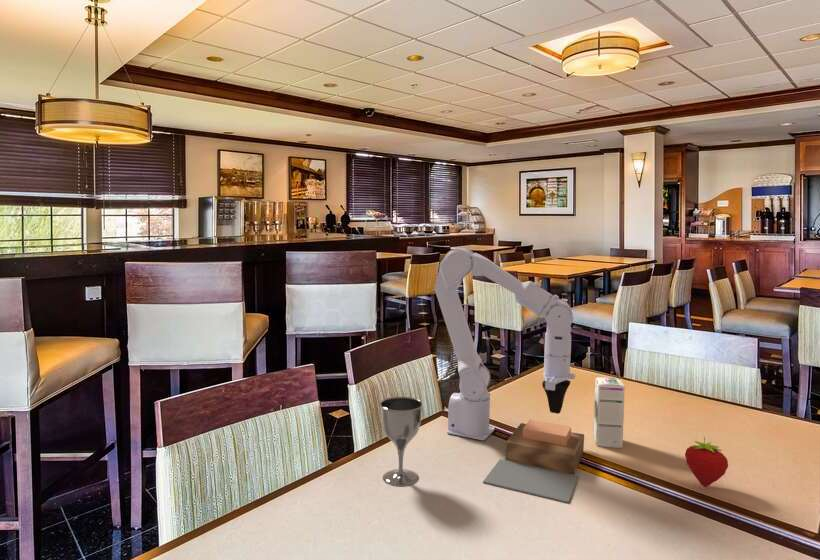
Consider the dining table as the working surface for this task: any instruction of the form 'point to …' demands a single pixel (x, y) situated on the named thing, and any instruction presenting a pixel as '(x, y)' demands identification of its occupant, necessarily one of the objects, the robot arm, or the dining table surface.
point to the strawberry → (706, 462)
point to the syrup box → (609, 412)
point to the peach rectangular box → (547, 432)
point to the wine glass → (401, 434)
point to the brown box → (545, 452)
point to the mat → (532, 480)
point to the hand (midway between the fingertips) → (555, 412)
